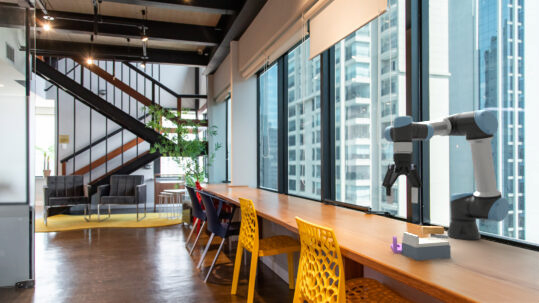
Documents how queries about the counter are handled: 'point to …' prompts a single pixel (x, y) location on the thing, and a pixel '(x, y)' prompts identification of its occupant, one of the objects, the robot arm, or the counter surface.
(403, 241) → the cover
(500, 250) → the counter surface
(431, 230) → the key
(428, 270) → the counter surface
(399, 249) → the bracket
